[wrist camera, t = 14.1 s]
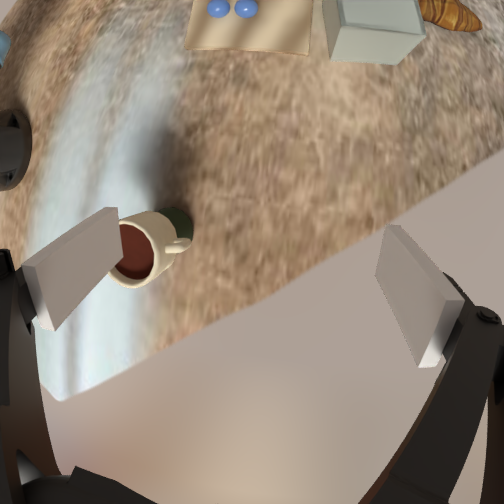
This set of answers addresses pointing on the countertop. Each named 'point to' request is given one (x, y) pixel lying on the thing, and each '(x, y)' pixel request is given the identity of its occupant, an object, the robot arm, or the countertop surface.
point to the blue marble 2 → (246, 8)
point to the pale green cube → (372, 29)
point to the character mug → (150, 245)
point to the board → (253, 28)
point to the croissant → (449, 15)
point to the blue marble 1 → (218, 8)
